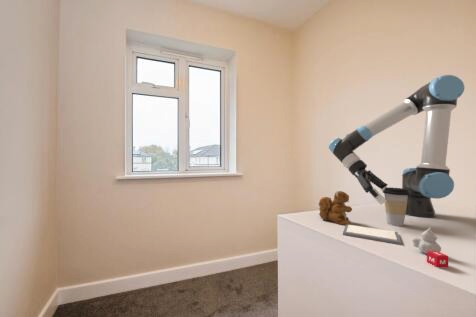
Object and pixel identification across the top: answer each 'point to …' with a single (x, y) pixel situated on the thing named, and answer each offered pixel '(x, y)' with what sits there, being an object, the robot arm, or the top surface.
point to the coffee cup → (395, 205)
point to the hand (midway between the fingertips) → (389, 201)
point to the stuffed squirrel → (335, 208)
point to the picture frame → (372, 234)
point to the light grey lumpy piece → (427, 242)
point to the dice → (437, 259)
